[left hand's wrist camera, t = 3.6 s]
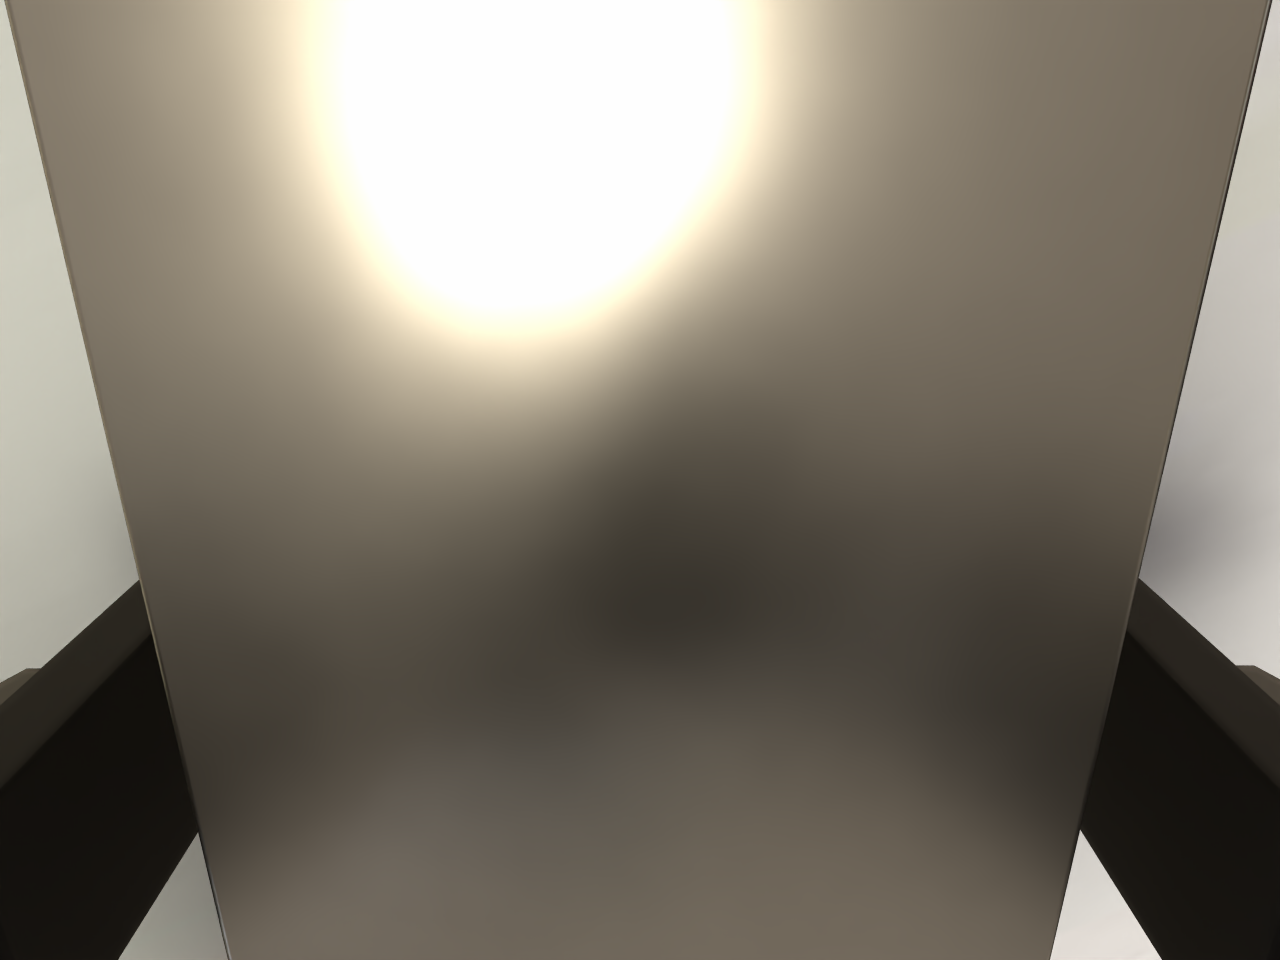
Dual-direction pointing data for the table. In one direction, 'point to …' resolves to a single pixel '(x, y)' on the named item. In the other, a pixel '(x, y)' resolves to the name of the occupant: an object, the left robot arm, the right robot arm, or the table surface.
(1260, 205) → the table surface
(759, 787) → the box
